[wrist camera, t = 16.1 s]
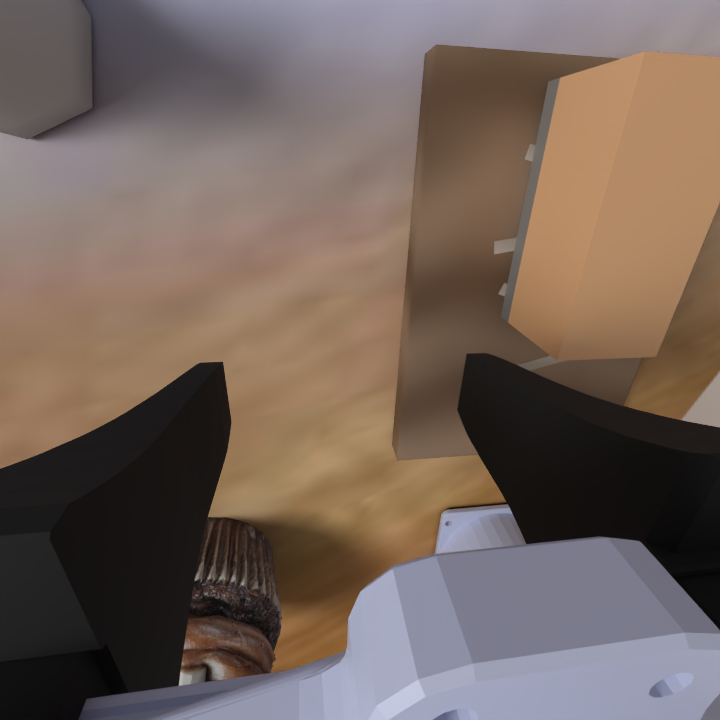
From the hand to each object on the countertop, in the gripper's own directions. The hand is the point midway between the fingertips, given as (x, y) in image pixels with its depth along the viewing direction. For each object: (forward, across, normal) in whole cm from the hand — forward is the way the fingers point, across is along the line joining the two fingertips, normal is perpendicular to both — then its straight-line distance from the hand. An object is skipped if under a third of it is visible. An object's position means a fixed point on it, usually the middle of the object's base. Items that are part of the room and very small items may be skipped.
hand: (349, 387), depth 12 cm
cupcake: (+10, +8, +19) cm, 23 cm away
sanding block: (+8, -11, -4) cm, 14 cm away
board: (+9, -11, 0) cm, 14 cm away
